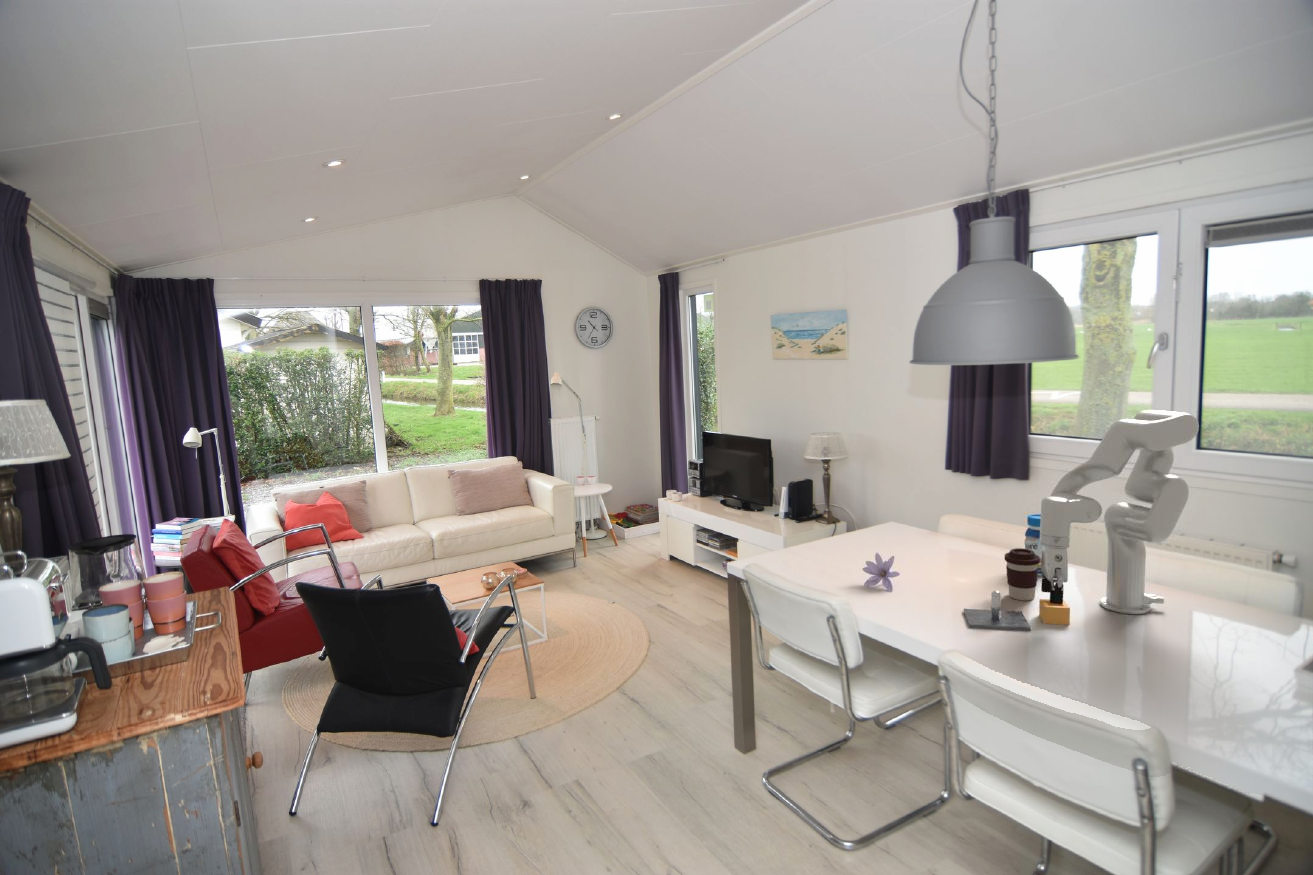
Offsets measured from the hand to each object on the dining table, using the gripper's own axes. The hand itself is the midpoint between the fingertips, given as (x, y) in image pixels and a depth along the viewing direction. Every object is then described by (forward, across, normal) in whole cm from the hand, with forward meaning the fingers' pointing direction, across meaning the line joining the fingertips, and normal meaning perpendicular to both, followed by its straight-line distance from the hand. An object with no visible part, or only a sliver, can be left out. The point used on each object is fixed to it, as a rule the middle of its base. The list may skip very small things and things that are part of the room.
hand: (1051, 597), depth 204 cm
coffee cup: (+7, +19, +4) cm, 20 cm away
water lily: (+8, +24, +47) cm, 53 cm away
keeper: (+7, -2, +15) cm, 17 cm away
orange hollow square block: (+7, +1, -1) cm, 7 cm away
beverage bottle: (+6, +44, -6) cm, 44 cm away
